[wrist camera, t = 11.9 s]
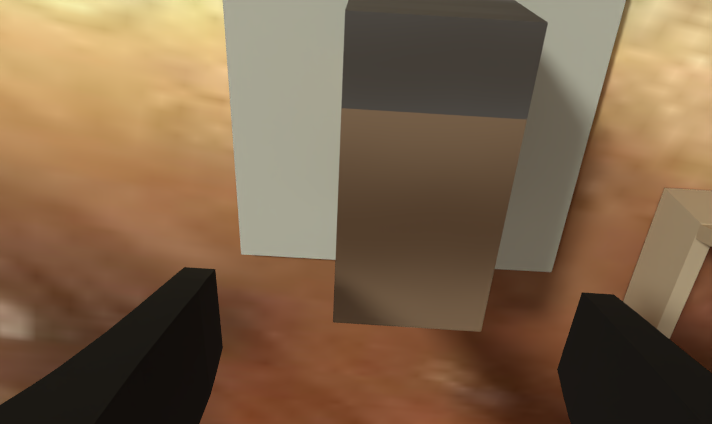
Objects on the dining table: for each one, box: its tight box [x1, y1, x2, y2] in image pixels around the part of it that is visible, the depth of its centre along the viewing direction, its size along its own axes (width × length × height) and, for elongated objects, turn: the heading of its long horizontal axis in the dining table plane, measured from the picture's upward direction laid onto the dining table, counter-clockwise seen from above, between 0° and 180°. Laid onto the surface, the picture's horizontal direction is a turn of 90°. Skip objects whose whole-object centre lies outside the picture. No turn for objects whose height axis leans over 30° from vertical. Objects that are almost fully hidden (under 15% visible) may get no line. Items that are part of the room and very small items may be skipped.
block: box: [333, 0, 548, 332], centre depth 15 cm, size 8×4×6 cm, turn 177°
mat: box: [223, 0, 626, 272], centre depth 18 cm, size 12×12×1 cm
